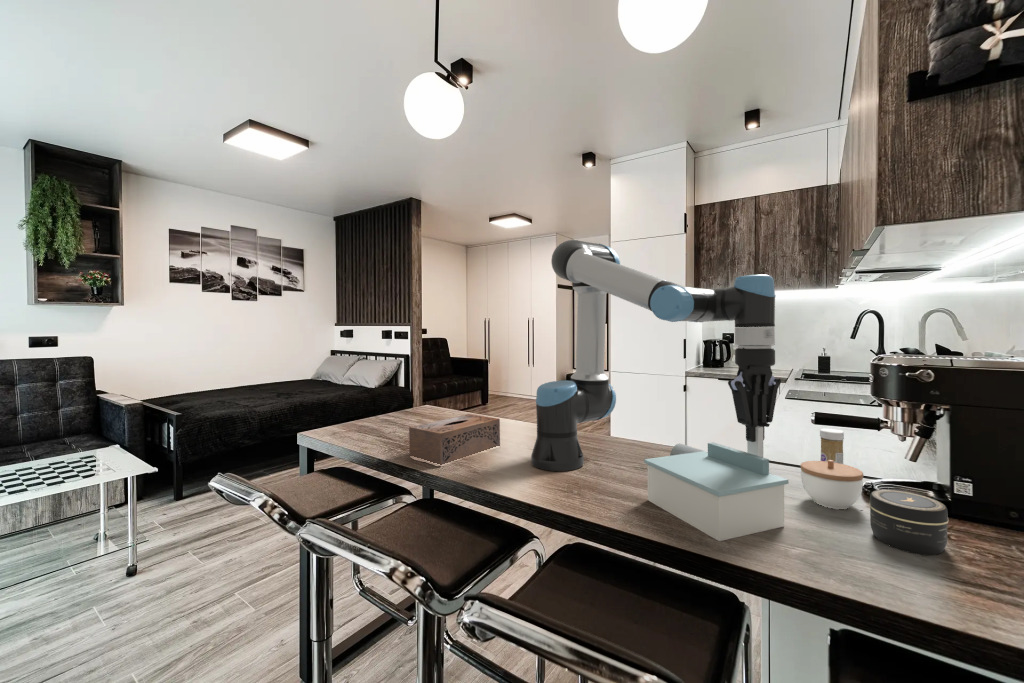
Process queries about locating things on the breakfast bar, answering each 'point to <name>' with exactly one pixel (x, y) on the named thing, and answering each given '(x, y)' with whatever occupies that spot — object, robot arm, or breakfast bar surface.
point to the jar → (909, 521)
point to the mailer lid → (720, 470)
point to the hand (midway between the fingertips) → (755, 455)
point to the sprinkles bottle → (832, 445)
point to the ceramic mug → (683, 449)
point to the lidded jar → (832, 483)
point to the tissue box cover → (453, 438)
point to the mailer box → (717, 506)
